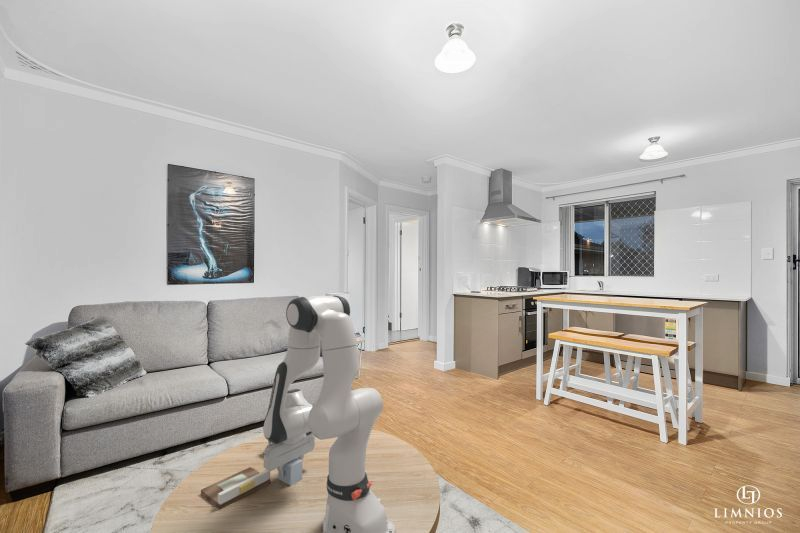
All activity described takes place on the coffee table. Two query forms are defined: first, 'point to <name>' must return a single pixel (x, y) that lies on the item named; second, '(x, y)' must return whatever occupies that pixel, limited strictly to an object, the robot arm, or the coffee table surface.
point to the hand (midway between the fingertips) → (290, 471)
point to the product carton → (292, 472)
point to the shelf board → (228, 482)
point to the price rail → (243, 486)
